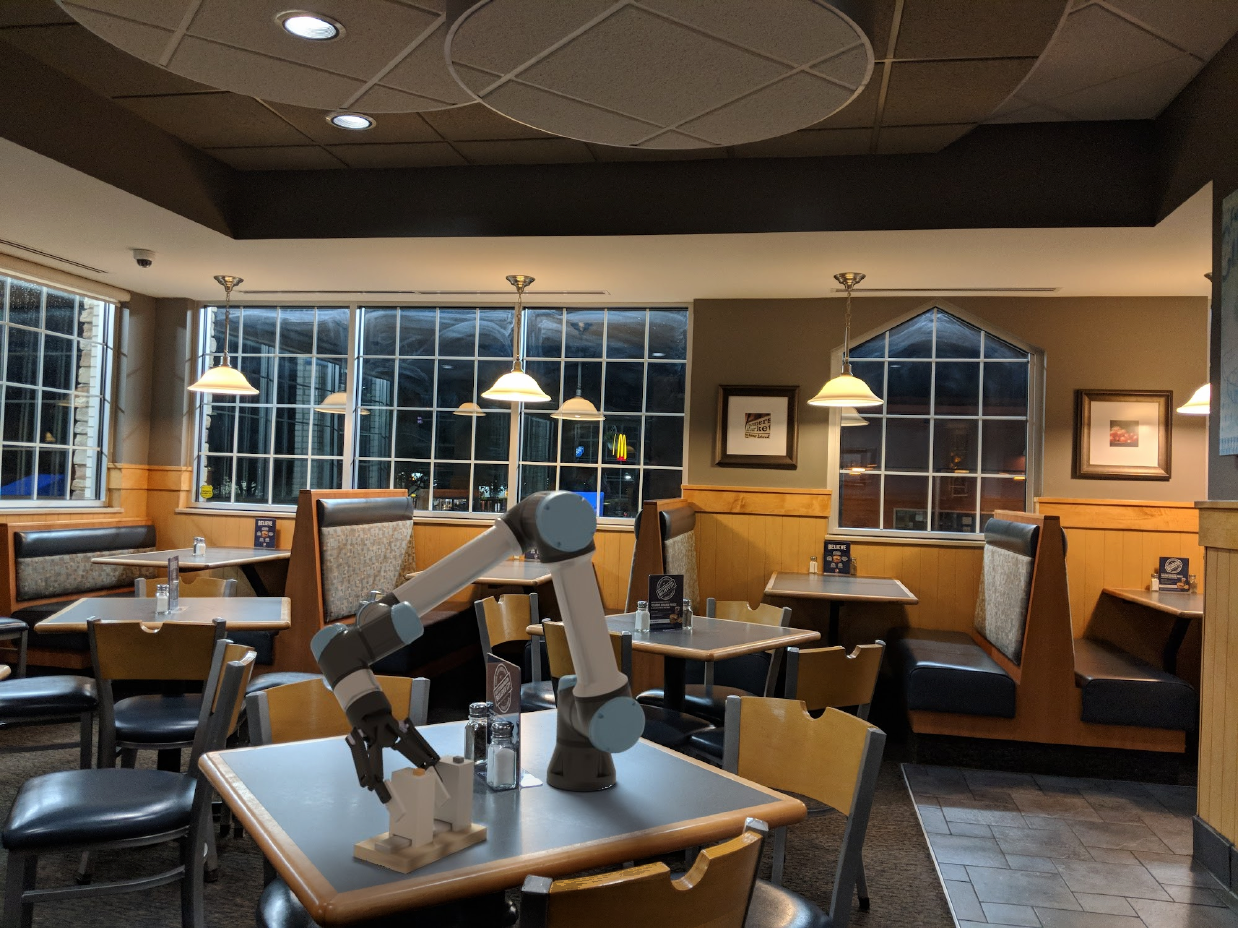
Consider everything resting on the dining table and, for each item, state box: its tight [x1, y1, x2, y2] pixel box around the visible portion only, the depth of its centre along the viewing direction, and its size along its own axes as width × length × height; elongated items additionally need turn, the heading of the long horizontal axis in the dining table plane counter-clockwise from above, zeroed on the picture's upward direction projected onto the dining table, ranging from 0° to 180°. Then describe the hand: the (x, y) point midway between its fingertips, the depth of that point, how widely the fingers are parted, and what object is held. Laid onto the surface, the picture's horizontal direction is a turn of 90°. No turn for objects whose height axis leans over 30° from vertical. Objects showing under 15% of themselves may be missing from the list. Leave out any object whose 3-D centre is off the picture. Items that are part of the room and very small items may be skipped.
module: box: [388, 766, 436, 848], centre depth 159 cm, size 6×4×12 cm, turn 58°
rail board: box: [353, 819, 488, 875], centre depth 161 cm, size 20×12×3 cm, turn 148°
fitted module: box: [433, 754, 475, 831], centre depth 167 cm, size 6×4×12 cm, turn 58°
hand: (423, 809), depth 157 cm, fingers open, 10 cm apart
